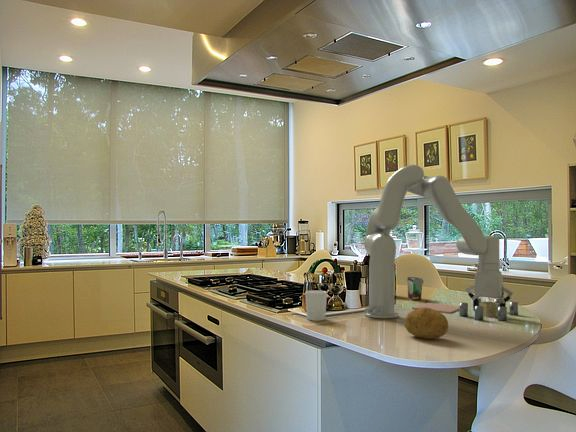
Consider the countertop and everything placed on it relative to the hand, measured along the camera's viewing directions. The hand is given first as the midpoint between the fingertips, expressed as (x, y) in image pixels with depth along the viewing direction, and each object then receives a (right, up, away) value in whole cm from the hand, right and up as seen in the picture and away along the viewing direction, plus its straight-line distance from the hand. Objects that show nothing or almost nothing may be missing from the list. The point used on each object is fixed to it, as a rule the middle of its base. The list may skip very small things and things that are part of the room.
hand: (489, 311), depth 184 cm
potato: (-36, 0, -39) cm, 53 cm away
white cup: (-68, -1, -10) cm, 69 cm away
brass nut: (0, -2, 0) cm, 2 cm away
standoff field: (0, -1, 0) cm, 1 cm away
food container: (-17, -3, +41) cm, 44 cm away
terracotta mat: (-15, -2, +15) cm, 21 cm away
